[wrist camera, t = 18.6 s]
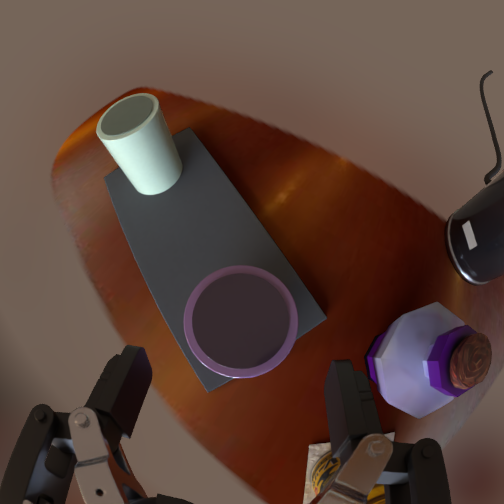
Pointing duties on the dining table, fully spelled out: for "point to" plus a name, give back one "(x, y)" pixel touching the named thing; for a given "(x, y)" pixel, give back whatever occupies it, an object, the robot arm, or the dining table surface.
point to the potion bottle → (427, 360)
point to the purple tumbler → (241, 321)
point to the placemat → (199, 241)
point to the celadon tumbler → (141, 143)
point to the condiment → (331, 473)
